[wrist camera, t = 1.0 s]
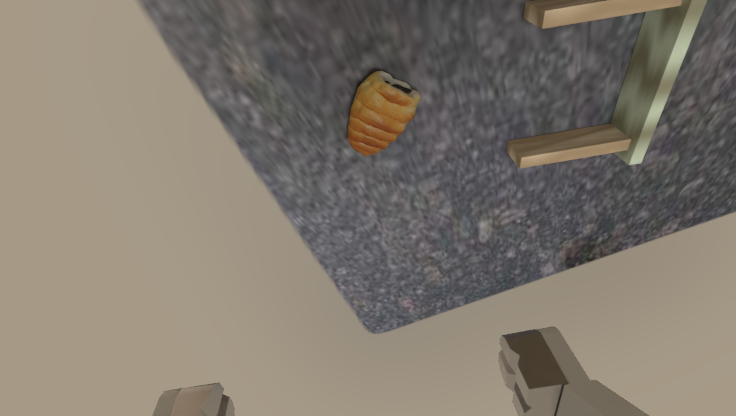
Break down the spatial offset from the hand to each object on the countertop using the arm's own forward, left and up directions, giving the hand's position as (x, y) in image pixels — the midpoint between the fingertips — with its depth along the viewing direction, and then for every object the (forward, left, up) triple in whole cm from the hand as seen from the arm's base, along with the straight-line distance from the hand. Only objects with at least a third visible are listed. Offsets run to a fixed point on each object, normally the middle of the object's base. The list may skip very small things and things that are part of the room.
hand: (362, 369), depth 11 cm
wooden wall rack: (+8, +26, -34) cm, 43 cm away
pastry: (+8, +4, -34) cm, 35 cm away
